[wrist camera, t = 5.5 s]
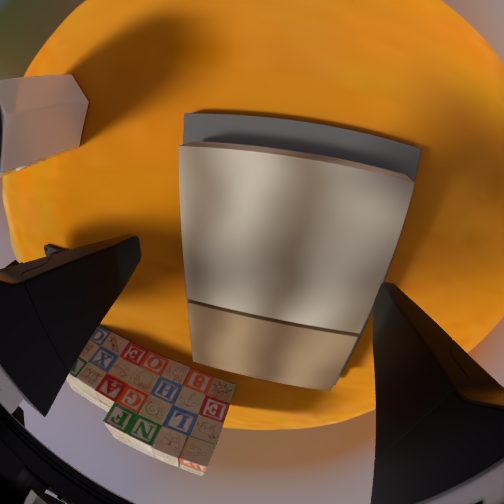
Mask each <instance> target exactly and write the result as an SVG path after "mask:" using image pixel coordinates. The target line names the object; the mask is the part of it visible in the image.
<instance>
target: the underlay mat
mask: <svg viewBox="0 0 504 504" xmlns="http://www.w3.org/2000/svg"><path fill="white" fill-rule="evenodd" d="M192 141H201V142H218V143H231V144H242V145H252V146H261V147H270V148H277V149H285V150H292V151H298V152H305V153H311V154H317V155H322V156H328V157H333V158H338V159H343V160H348V161H353V162H357V163H362V164H366V165H371V166H375V167H379V168H383V169H387V170H391V171H395V172H398V173H402V174H405V175H407V176H408V177H409V178H410V179H411V180H412V181H413V182H414V183H415V178H416V174H417V169H418V164H419V159H420V154H421V149H420V148H417V147H414V146H411V145H408V144H404V143H401V142H397V141H394V140H390V139H386V138H383V137H379V136H375V135H371V134H366V133H362V132H358V131H353V130H348V129H344V128H338V127H333V126H328V125H322V124H316V123H310V122H303V121H296V120H289V119H280V118H271V117H261V116H249V115H233V114H205V113H187V114H184V135H183V144H186V143H189V142H192ZM404 221H405V220H404ZM402 228H403V227H402ZM401 231H402V230H401ZM400 234H401V233H400ZM399 237H400V236H399ZM398 241H399V239H398ZM397 244H398V242H397ZM396 247H397V245H396ZM395 250H396V248H395ZM394 253H395V251H394ZM394 253H393V256H394ZM393 256H392V259H393ZM392 259H391V261H392ZM390 264H391V262H390ZM390 264H389V267H390ZM389 267H388V270H389ZM388 270H387V272H386V275H387V273H388ZM386 275H385V277H384V280H383V282H384V281H385V278H386ZM383 282H382V283H383ZM188 300H189V299H187V302H188ZM372 310H373V306H372V308H371V310H370V313H369V315H368V317H367V319H366V321H365V323H364V326H363V328H362V330H361V332H360V333H358V338H357V340H356V342H355V345H354V347H353V349H352V351H351V353H350V355H349V357H348V359H347V361H346V363H345V365H344V367H343V368H342V370H341V372H340V374H339V376H338V378H337V380H336V381H335V383H334V385H336V383H337V381H338V380H339V378H340V376H341V374H342V372H343V370H344V369H345V367H346V365H347V363H348V361H349V359H350V357H351V355H352V353H353V351H354V349H355V347H356V345H357V343H358V341H359V339H360V337H361V335H362V333H363V330H364V328H365V326H366V324H367V322H368V319H369V317H370V315H371V313H372Z"/></svg>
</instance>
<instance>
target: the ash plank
mask: <svg viewBox="0 0 504 504" xmlns="http://www.w3.org/2000/svg"><path fill="white" fill-rule="evenodd" d="M414 185H415V183H414V182H413V181H412V180H411V179H410V178H409V177H408V176H407V175H405V174H402V173H398V172H395V171H391V170H387V169H383V168H379V167H375V166H371V165H366V164H362V163H357V162H353V161H348V160H343V159H338V158H333V157H328V156H322V155H317V154H311V153H305V152H298V151H292V150H285V149H277V148H270V147H261V146H252V145H242V144H231V143H218V142H201V141H192V142H189V143H186V144H183V145H180V146H179V187H180V214H181V233H182V248H183V261H184V273H185V284H186V295H187V299H190V300H194V301H198V302H202V303H206V304H210V305H215V306H219V307H223V308H227V309H232V310H236V311H241V312H245V313H250V314H254V315H259V316H264V317H269V318H274V319H279V320H284V321H289V322H294V323H299V324H305V325H310V326H316V327H322V328H328V329H334V330H340V331H346V332H353V333H360V332H361V330H362V328H363V326H364V323H365V321H366V319H367V317H368V315H369V313H370V310H371V308H372V306H373V304H374V300H375V298H376V295H377V293H378V290H379V288H380V285H381V284H382V282H383V280H384V277H385V275H386V272H387V270H388V267H389V264H390V262H391V259H392V256H393V253H394V251H395V248H396V245H397V242H398V239H399V236H400V233H401V230H402V227H403V224H404V220H405V217H406V214H407V210H408V207H409V203H410V200H411V196H412V193H413V189H414Z"/></svg>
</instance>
